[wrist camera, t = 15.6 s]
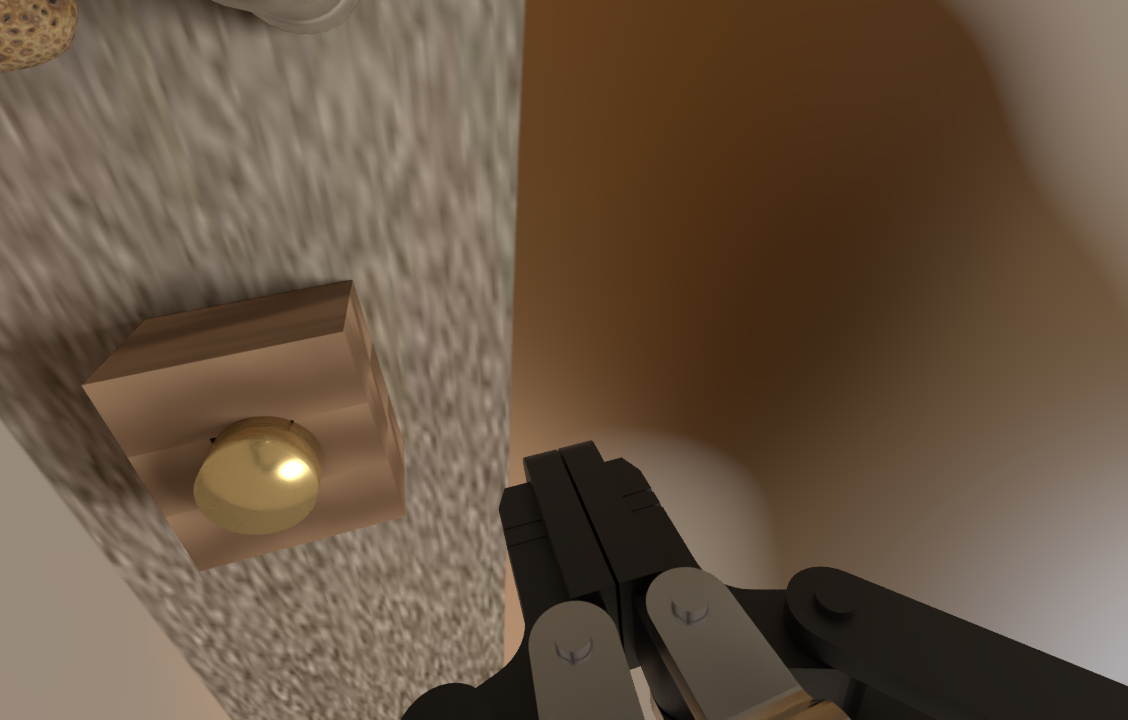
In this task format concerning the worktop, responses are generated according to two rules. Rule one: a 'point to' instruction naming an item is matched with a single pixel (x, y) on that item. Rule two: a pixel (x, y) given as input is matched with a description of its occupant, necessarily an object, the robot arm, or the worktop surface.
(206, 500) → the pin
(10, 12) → the natural sponge
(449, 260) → the worktop surface
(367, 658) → the worktop surface
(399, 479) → the block
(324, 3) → the plastic bottle
